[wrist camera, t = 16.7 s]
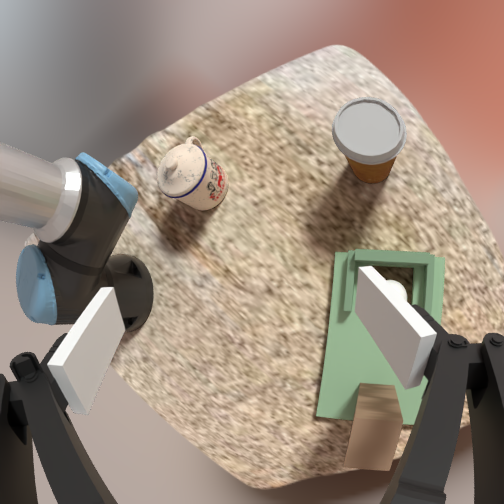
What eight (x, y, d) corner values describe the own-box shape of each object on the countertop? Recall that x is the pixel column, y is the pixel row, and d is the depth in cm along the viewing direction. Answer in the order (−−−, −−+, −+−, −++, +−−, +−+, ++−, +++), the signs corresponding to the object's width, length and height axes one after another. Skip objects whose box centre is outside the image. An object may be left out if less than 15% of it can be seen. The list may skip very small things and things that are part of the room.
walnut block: (352, 420, 38) (342, 466, 25) (360, 382, 39) (354, 417, 26) (386, 423, 36) (389, 470, 23) (394, 385, 37) (403, 421, 24)
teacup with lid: (230, 208, 52) (193, 185, 41) (184, 215, 55) (142, 196, 44) (231, 145, 54) (199, 113, 43) (188, 155, 57) (151, 128, 46)
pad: (317, 412, 41) (311, 424, 37) (336, 253, 44) (332, 247, 40) (420, 421, 35) (425, 434, 31) (442, 258, 38) (450, 253, 34)
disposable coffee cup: (409, 185, 42) (419, 149, 31) (350, 200, 45) (343, 168, 34) (389, 132, 44) (390, 87, 33) (334, 146, 47) (321, 104, 36)
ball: (370, 306, 36) (373, 271, 39) (368, 321, 40) (371, 289, 42) (409, 308, 34) (409, 273, 37) (403, 324, 38) (404, 292, 41)
